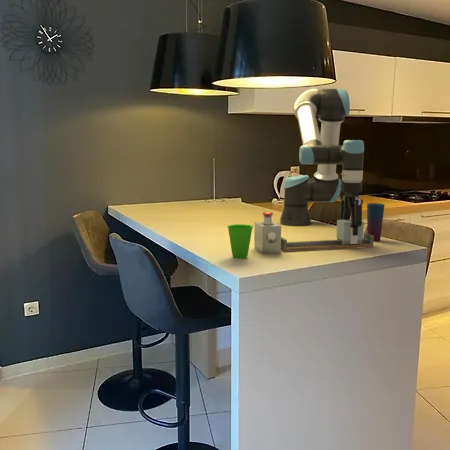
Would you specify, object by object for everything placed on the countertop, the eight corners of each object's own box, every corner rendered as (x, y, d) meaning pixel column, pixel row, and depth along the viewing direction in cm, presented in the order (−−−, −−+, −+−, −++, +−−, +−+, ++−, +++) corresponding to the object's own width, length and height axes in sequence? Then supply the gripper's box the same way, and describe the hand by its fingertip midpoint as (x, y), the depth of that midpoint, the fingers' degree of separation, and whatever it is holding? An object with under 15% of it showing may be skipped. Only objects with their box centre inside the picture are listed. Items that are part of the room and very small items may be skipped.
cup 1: (248, 261, 168) (248, 229, 166) (223, 259, 171) (223, 227, 170) (256, 255, 176) (256, 225, 175) (232, 253, 180) (232, 223, 178)
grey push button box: (254, 248, 188) (254, 222, 187) (271, 247, 190) (272, 221, 188) (262, 254, 178) (263, 227, 177) (281, 253, 180) (281, 226, 178)
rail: (278, 248, 188) (278, 236, 188) (365, 244, 196) (366, 233, 196) (284, 251, 183) (284, 240, 182) (373, 247, 191) (373, 235, 190)
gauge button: (261, 233, 185) (261, 212, 183) (270, 232, 185) (270, 211, 184) (264, 234, 181) (264, 213, 180) (273, 234, 182) (274, 213, 181)
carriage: (336, 241, 193) (337, 220, 192) (355, 240, 195) (356, 219, 194) (343, 244, 188) (344, 222, 186) (362, 243, 189) (363, 221, 188)
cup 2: (384, 239, 205) (386, 203, 202) (379, 242, 199) (381, 205, 197) (368, 238, 208) (370, 202, 206) (362, 240, 203) (364, 204, 200)
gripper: (331, 179, 196) (329, 237, 200) (354, 183, 177) (352, 247, 181) (349, 179, 197) (346, 236, 201) (374, 183, 179) (370, 246, 183)
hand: (349, 241), depth 191 cm, fingers closed on carriage, 6 cm apart
